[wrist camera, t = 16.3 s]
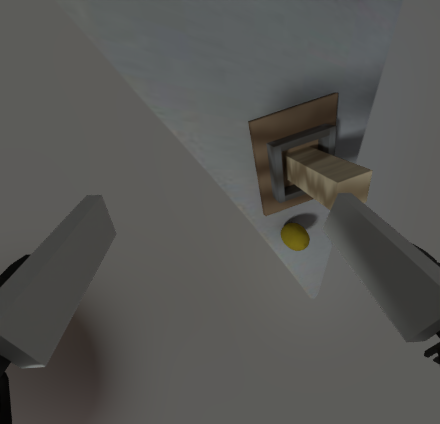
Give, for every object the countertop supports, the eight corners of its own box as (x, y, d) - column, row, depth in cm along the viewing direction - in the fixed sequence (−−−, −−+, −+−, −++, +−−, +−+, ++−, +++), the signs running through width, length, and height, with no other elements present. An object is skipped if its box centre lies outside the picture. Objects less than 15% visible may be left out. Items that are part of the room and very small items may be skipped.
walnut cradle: (248, 121, 33) (257, 124, 30) (333, 92, 34) (351, 92, 31) (263, 213, 44) (271, 223, 41) (327, 190, 45) (340, 198, 42)
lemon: (286, 213, 46) (306, 233, 39) (300, 222, 48) (321, 243, 42) (270, 230, 47) (287, 252, 41) (284, 238, 50) (302, 260, 43)
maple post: (283, 154, 37) (337, 182, 25) (308, 146, 37) (372, 170, 25) (285, 178, 40) (334, 213, 28) (308, 170, 40) (366, 201, 28)
